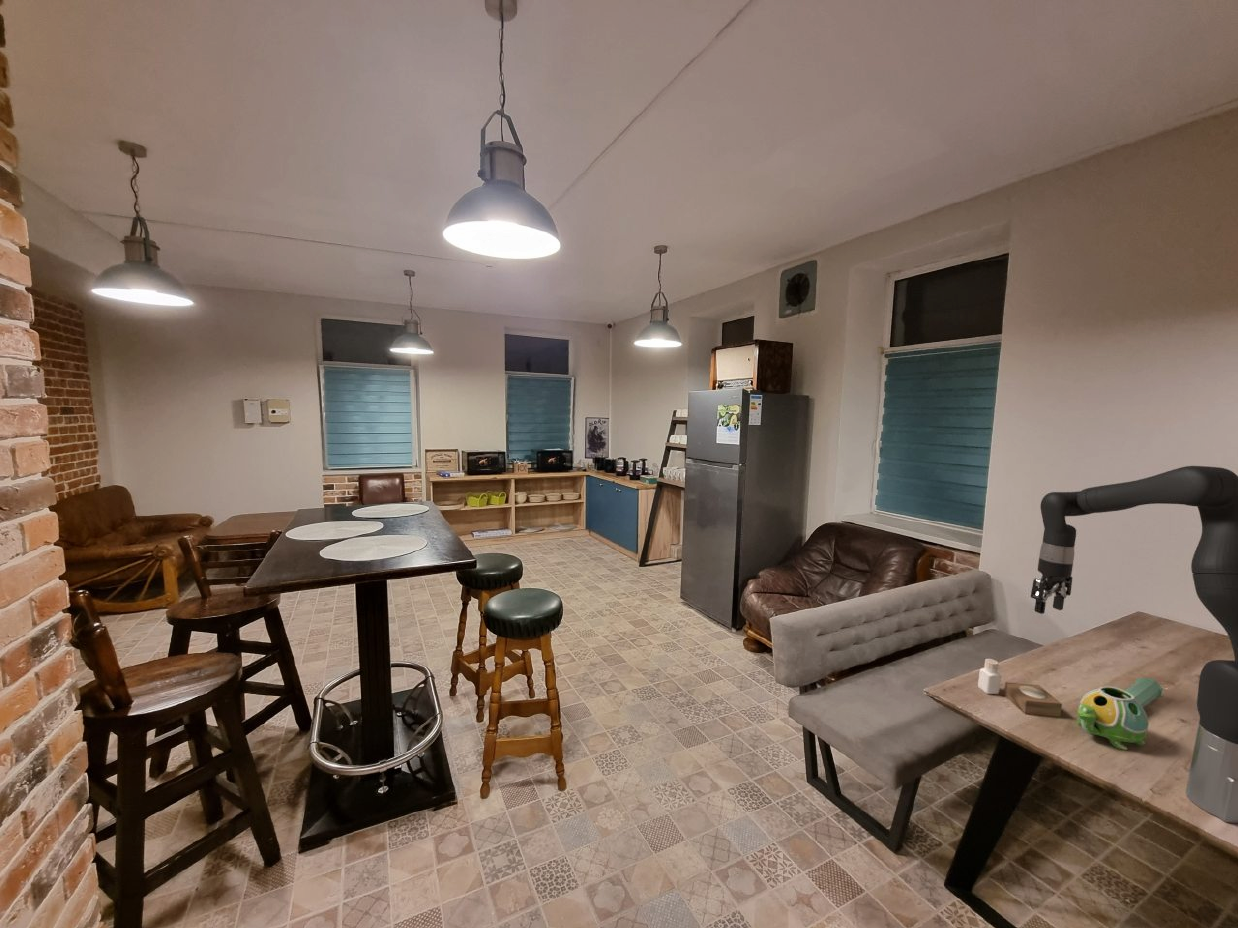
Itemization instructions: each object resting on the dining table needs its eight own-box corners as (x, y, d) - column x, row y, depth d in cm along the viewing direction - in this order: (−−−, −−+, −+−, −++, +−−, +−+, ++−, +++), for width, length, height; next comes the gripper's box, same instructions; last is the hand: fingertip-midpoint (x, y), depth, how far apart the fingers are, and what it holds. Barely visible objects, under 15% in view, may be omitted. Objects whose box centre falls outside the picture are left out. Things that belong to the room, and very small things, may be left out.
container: (1125, 703, 133) (1158, 678, 145) (1097, 699, 138) (1131, 675, 150) (1133, 726, 132) (1166, 699, 144) (1105, 722, 137) (1139, 696, 149)
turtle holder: (1050, 724, 133) (1056, 683, 131) (1102, 716, 137) (1108, 676, 135) (1103, 757, 121) (1110, 712, 119) (1158, 747, 125) (1166, 704, 123)
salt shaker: (989, 686, 150) (993, 657, 149) (999, 694, 146) (1003, 664, 145) (976, 686, 150) (980, 657, 148) (986, 694, 146) (990, 664, 144)
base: (1060, 716, 136) (1062, 703, 135) (1024, 713, 137) (1026, 699, 136) (1036, 697, 145) (1038, 684, 144) (1003, 694, 146) (1005, 681, 145)
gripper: (1055, 565, 138) (1047, 619, 140) (1086, 560, 143) (1078, 612, 145) (1025, 556, 145) (1018, 608, 147) (1056, 552, 150) (1049, 602, 152)
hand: (1048, 610), depth 146 cm, fingers open, 8 cm apart
